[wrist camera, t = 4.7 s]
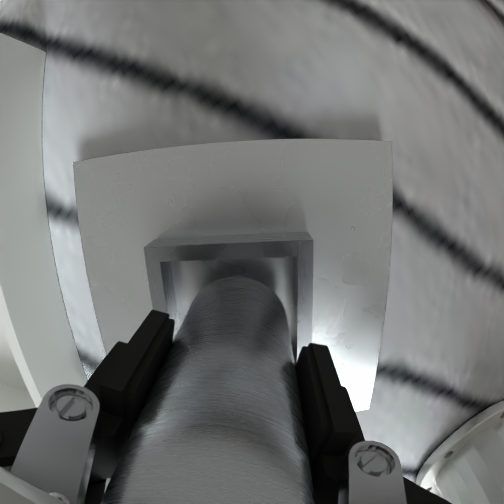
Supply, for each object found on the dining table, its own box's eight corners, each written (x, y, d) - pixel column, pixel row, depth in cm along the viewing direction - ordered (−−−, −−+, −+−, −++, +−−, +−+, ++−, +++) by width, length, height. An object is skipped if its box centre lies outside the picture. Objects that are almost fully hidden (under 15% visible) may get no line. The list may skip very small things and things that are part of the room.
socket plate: (363, 398, 16) (375, 426, 14) (130, 402, 17) (117, 429, 14) (382, 142, 13) (406, 139, 10) (83, 161, 13) (55, 162, 11)
